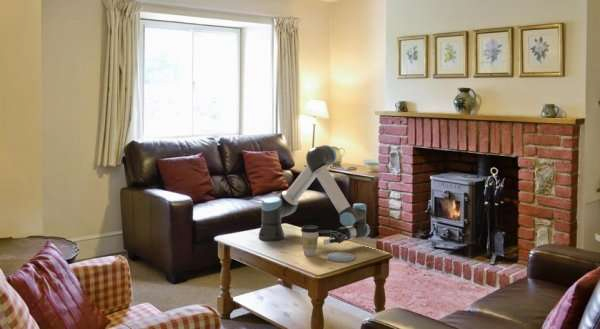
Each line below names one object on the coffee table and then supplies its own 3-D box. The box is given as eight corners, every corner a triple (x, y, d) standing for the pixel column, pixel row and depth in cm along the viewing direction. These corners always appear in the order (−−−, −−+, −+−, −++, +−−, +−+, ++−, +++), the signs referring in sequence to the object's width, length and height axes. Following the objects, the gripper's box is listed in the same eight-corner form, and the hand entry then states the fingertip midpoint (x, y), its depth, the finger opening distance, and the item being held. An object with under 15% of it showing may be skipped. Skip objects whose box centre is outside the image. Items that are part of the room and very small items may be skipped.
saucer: (328, 253, 312) (329, 251, 312) (355, 255, 310) (355, 252, 310) (326, 261, 298) (326, 258, 298) (353, 262, 296) (353, 260, 296)
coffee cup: (317, 257, 305) (317, 229, 303) (298, 256, 307) (299, 228, 305) (320, 252, 315) (320, 225, 313) (302, 251, 316) (302, 224, 314)
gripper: (361, 245, 315) (331, 251, 302) (331, 235, 334) (302, 241, 322) (361, 231, 314) (331, 237, 301) (331, 222, 333) (302, 227, 321)
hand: (316, 239), depth 311 cm, fingers open, 13 cm apart
